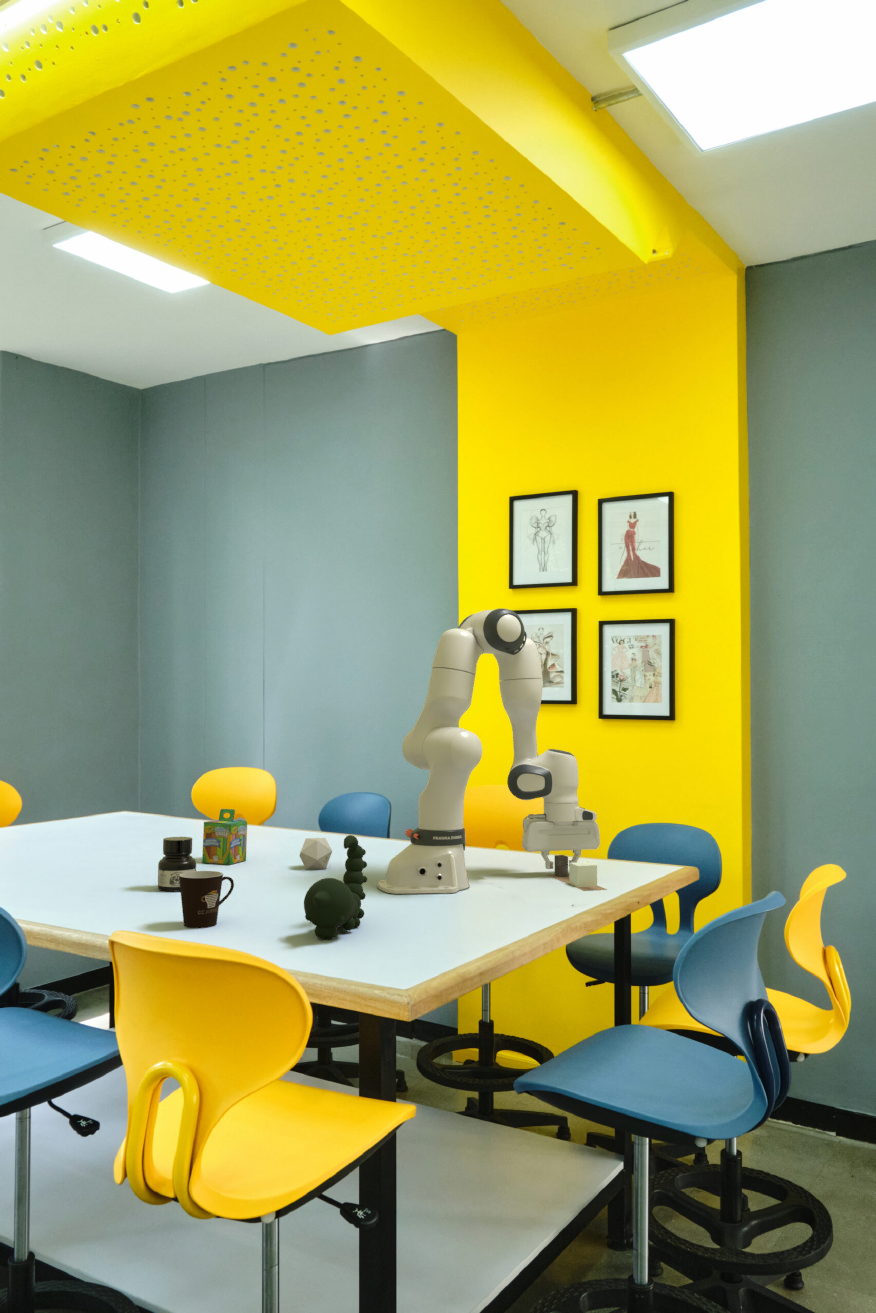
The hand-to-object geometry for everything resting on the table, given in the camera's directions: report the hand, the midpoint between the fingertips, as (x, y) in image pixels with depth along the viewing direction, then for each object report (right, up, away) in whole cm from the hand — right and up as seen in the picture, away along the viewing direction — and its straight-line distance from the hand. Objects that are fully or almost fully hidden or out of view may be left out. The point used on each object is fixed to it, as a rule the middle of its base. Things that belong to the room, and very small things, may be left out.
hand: (561, 868), depth 247 cm
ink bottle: (-94, -2, -13) cm, 95 cm away
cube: (+4, -1, -13) cm, 13 cm away
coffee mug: (-78, 0, -51) cm, 93 cm away
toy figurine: (-51, 0, -57) cm, 76 cm away
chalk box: (-91, -4, +27) cm, 95 cm away
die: (-65, -4, +17) cm, 67 cm away
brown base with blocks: (+3, -3, -9) cm, 10 cm away
